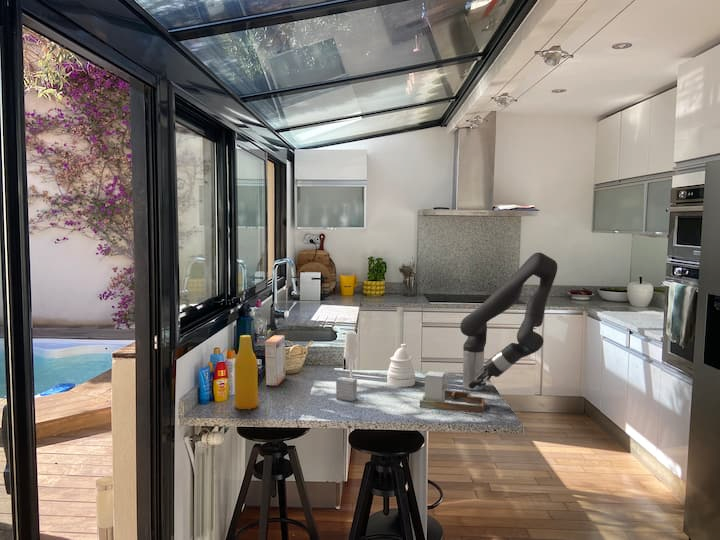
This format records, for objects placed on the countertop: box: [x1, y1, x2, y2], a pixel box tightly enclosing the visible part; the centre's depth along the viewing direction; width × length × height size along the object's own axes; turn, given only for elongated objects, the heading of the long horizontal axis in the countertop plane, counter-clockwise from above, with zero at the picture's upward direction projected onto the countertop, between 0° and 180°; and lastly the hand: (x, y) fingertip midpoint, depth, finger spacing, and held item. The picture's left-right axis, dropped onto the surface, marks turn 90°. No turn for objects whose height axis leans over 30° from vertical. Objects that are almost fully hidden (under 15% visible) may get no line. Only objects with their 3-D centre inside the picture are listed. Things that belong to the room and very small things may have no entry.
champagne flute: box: [343, 331, 359, 386], centre depth 257 cm, size 7×7×24 cm
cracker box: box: [264, 334, 286, 387], centre depth 261 cm, size 14×6×21 cm, turn 172°
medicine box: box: [335, 376, 358, 402], centre depth 236 cm, size 8×4×9 cm, turn 65°
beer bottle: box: [233, 334, 259, 410], centre depth 225 cm, size 9×9×29 cm
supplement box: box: [424, 370, 446, 402], centre depth 229 cm, size 7×7×13 cm
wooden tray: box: [419, 389, 486, 414], centre depth 230 cm, size 17×25×2 cm
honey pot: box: [386, 343, 416, 388], centre depth 259 cm, size 13×13×18 cm
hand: (470, 386), depth 233 cm, fingers closed
